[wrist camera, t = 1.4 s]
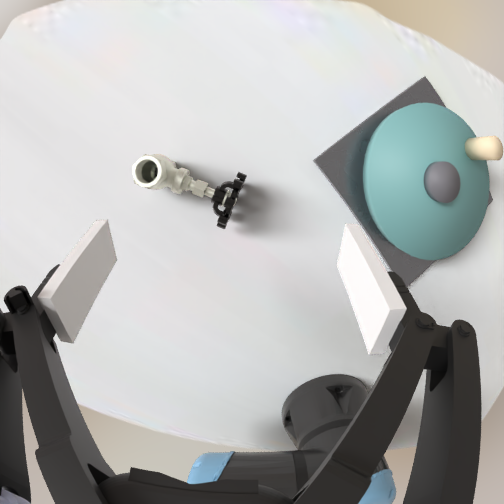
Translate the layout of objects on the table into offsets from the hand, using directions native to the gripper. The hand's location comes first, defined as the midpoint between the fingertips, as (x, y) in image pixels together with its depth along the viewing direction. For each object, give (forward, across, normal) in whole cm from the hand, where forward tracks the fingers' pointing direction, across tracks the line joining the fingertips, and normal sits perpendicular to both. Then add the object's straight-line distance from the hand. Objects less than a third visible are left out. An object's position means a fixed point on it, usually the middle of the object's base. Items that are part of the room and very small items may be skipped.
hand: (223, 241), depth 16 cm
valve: (+21, +6, +5) cm, 22 cm away
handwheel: (+18, -25, +1) cm, 31 cm away
